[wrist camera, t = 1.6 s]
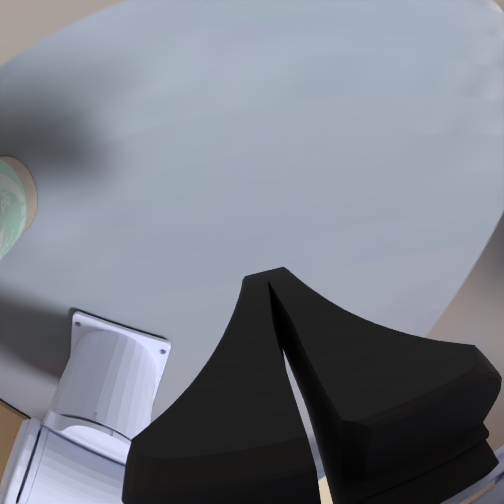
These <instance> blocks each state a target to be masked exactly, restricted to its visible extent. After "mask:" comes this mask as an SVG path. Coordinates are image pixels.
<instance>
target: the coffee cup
mask: <svg viewBox="0 0 504 504" xmlns="http://www.w3.org/2000/svg"><path fill="white" fill-rule="evenodd" d="M36 210H37V191H36V186H35V183H34V180H33V178H32V175H31V174H30V172H29V170H28V169H27V167H26V166H25V165H24V164H23V163H22V162H20V161H19V160H17V159H16V158H13V157H9V156H4V157H0V260H1V259H2V258H3V256H4V255H5V254H6V253H7V252H8V250H9V249H10V248H11V247H12V246H13V245H14V243H15V242H16V241H17V240H18V239H19V238H20V237H21V235H22V234H23V233H24V232H25V231H26V230H27V229H28V228H29V226H30V225H31V224H32V222H33V220H34V217H35V214H36Z"/></svg>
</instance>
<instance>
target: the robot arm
mask: <svg viewBox="0 0 504 504" xmlns="http://www.w3.org/2000/svg"><path fill="white" fill-rule="evenodd" d="M77 322H79V323H80V324H79V323H77ZM282 347H283V348H282ZM170 348H171V343H170V342H169V341H168V340H165V339H162V338H158V337H155V336H151V335H148V334H145V333H142V332H138V331H135V330H132V329H129V328H126V327H123V326H120V325H117V324H114V323H111V322H108V321H105V320H102V319H99V318H96V317H93V316H90V315H88V314H85V313H82V312H79V311H77V312H75V313H74V314H73V318H72V333H71V356H70V359H69V361H68V363H67V365H66V368H65V370H64V372H63V374H62V377H61V379H60V381H59V384H58V386H57V389H56V391H55V394H54V396H53V399H52V401H51V404H50V406H49V409H48V411H47V414H46V416H45V418H44V420H43V422H42V423H41V422H40V421H39V420H38V419H36V418H35V417H32V418H31V420H30V419H27V420H23V422H22V424H21V427H20V429H19V432H18V434H17V437H16V439H15V442H14V445H13V448H12V450H11V453H10V456H9V459H8V462H7V465H6V468H5V471H4V474H3V477H2V481H1V484H0V504H321V500H320V492H319V485H318V478H317V471H316V466H315V462H314V459H313V455H312V452H311V448H310V445H309V441H308V437H307V434H306V431H305V428H304V425H303V422H302V419H301V416H300V413H299V410H298V407H297V403H296V400H295V397H294V394H293V391H292V388H291V384H290V381H289V378H288V375H287V371H286V367H285V360H284V354H283V350H284V352H285V355H286V357H287V360H288V362H289V365H290V367H291V370H292V372H293V375H294V377H295V380H296V382H297V385H298V387H299V389H300V392H301V394H302V397H303V399H304V402H305V405H306V408H307V410H308V414H309V417H310V421H311V424H312V428H313V431H314V435H315V438H316V442H317V445H318V449H319V453H320V456H321V460H322V464H323V467H324V471H325V475H326V478H327V482H328V486H329V489H330V493H331V497H332V501H333V504H459V503H461V502H463V501H464V500H466V499H468V498H469V497H471V496H473V495H474V494H476V493H477V492H479V491H480V490H482V489H483V488H485V487H486V486H488V485H489V484H491V483H492V482H494V481H495V480H496V479H497V480H496V482H495V484H494V486H493V487H492V488H490V489H489V490H488V491H486V492H485V493H484V494H482V495H481V496H479V497H478V498H476V499H475V500H473V501H472V502H471V503H469V504H504V445H503V446H502V447H501V448H499V449H498V450H496V451H495V452H493V451H492V449H491V448H490V446H489V444H488V443H487V441H486V440H485V439H487V438H488V436H489V431H488V430H487V428H486V427H485V425H484V424H483V421H484V420H485V418H486V416H487V415H488V413H489V411H490V410H491V408H492V406H493V404H494V402H495V401H496V399H497V396H498V394H499V392H500V389H501V380H502V378H501V376H500V374H499V373H498V371H497V370H496V369H495V368H494V366H493V365H492V364H491V363H490V361H489V360H488V359H487V358H486V357H485V356H484V355H483V354H482V353H481V351H479V349H478V348H476V347H475V345H469V344H459V343H452V342H445V341H437V340H432V339H427V338H423V337H419V336H414V335H410V334H406V333H403V332H399V331H396V330H393V329H390V328H387V327H384V326H381V325H378V324H375V323H373V322H370V321H368V320H365V319H363V318H361V317H359V316H357V315H355V314H352V313H350V312H348V311H346V310H344V309H342V308H340V307H339V306H337V305H335V304H334V303H332V302H330V301H329V300H327V299H326V298H324V297H323V296H321V295H320V294H318V293H317V292H315V291H314V290H313V289H311V288H310V287H308V286H307V285H306V284H304V283H303V282H302V281H301V280H299V279H298V278H297V277H296V276H294V275H293V274H292V273H291V272H290V271H289V270H288V269H286V268H285V267H280V268H276V269H272V270H268V271H264V272H260V273H256V274H252V275H248V276H245V277H244V279H243V281H242V287H241V291H240V295H239V298H238V301H237V304H236V307H235V310H234V312H233V315H232V317H231V320H230V322H229V324H228V326H227V328H226V330H225V332H224V335H223V337H222V338H221V340H220V342H219V344H218V346H217V347H216V349H215V351H214V352H213V354H212V356H211V357H210V359H209V360H208V362H207V363H206V365H205V366H204V367H203V369H202V370H201V372H200V373H199V374H198V376H197V377H196V378H195V380H194V381H193V382H192V383H191V385H190V386H189V387H188V388H187V389H186V390H185V391H184V392H183V394H182V395H181V396H180V397H179V398H178V399H177V400H176V401H175V402H174V403H173V404H172V405H171V406H170V407H169V408H168V409H167V410H166V411H165V412H164V413H163V414H162V415H160V416H159V417H158V418H157V419H156V420H155V421H153V422H152V423H151V424H150V418H151V411H152V404H153V401H154V398H155V394H156V391H157V388H158V385H159V382H160V379H161V376H162V373H163V370H164V366H165V363H166V360H167V357H168V354H169V351H170ZM161 349H164V350H165V351H162V350H161ZM40 424H41V425H40Z"/></svg>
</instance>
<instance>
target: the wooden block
mask: <svg viewBox="0 0 504 504" xmlns="http://www.w3.org/2000/svg"><path fill="white" fill-rule="evenodd" d="M27 419H30V418H28V417H26V416H25V415H23V414H21V413H20V412H18V411H16V410H15V409H13V408H11V407H10V406H8V405H7V404H5V403H4V402H2V401H1V400H0V484H1V481H2V477H3V474H4V471H5V468H6V465H7V462H8V459H9V456H10V453H11V450H12V448H13V445H14V442H15V439H16V437H17V434H18V432H19V429H20V427H21V424H22V422H23V420H27ZM30 420H31V419H30Z"/></svg>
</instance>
